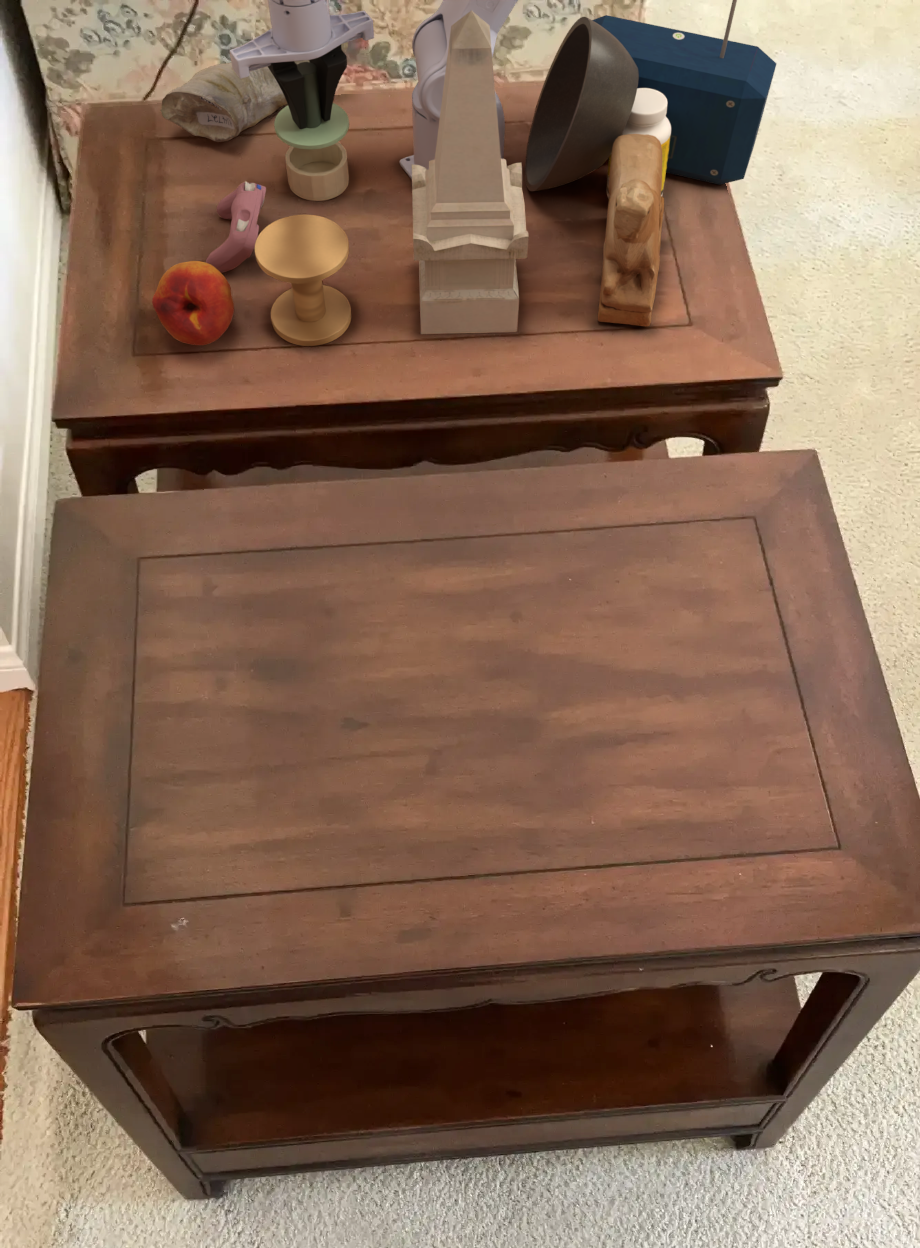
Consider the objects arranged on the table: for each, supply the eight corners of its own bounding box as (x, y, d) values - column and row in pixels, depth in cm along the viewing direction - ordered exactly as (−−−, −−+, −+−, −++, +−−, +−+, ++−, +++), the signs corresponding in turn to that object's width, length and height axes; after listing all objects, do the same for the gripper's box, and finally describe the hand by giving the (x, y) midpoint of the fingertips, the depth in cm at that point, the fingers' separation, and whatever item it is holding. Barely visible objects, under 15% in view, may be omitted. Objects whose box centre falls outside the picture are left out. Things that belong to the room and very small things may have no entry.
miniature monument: (515, 262, 120) (532, -28, 94) (521, 335, 114) (541, 47, 88) (415, 264, 119) (404, -26, 94) (416, 337, 114) (406, 49, 88)
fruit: (147, 350, 113) (127, 287, 106) (183, 295, 117) (166, 231, 110) (220, 369, 111) (204, 307, 105) (254, 314, 115) (242, 250, 109)
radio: (753, 147, 130) (803, -33, 113) (739, 194, 125) (787, 15, 108) (575, 107, 133) (597, -73, 116) (555, 152, 128) (574, -29, 111)
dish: (333, 155, 129) (330, 129, 126) (359, 189, 126) (357, 163, 123) (279, 173, 127) (275, 147, 124) (304, 208, 124) (300, 182, 121)
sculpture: (590, 325, 115) (607, 200, 102) (603, 213, 123) (620, 85, 110) (654, 331, 114) (679, 206, 101) (661, 219, 123) (685, 91, 110)
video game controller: (244, 288, 119) (267, 240, 114) (202, 272, 118) (222, 222, 112) (255, 225, 125) (277, 176, 119) (214, 208, 123) (234, 158, 118)
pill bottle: (673, 200, 124) (687, 106, 115) (626, 219, 123) (636, 125, 114) (641, 170, 127) (652, 76, 118) (594, 188, 126) (602, 94, 117)
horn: (244, 123, 120) (173, 49, 118) (217, 187, 130) (151, 120, 128) (354, 41, 128) (289, -29, 127) (321, 107, 139) (260, 43, 137)
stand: (332, 276, 118) (324, 203, 111) (370, 330, 114) (364, 258, 107) (253, 304, 116) (239, 232, 108) (289, 360, 112) (277, 289, 104)
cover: (330, 95, 123) (324, 37, 118) (361, 136, 120) (357, 78, 114) (263, 116, 121) (254, 57, 116) (292, 157, 118) (284, 100, 112)
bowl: (655, 104, 106) (592, 94, 105) (578, 227, 127) (524, 220, 126) (653, -10, 108) (590, -22, 107) (577, 129, 130) (524, 121, 128)
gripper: (348, -51, 112) (357, 79, 123) (209, -12, 108) (232, 118, 120) (380, -15, 109) (387, 115, 120) (238, 27, 105) (259, 156, 116)
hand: (311, 119), depth 120 cm, fingers closed on cover, 2 cm apart
